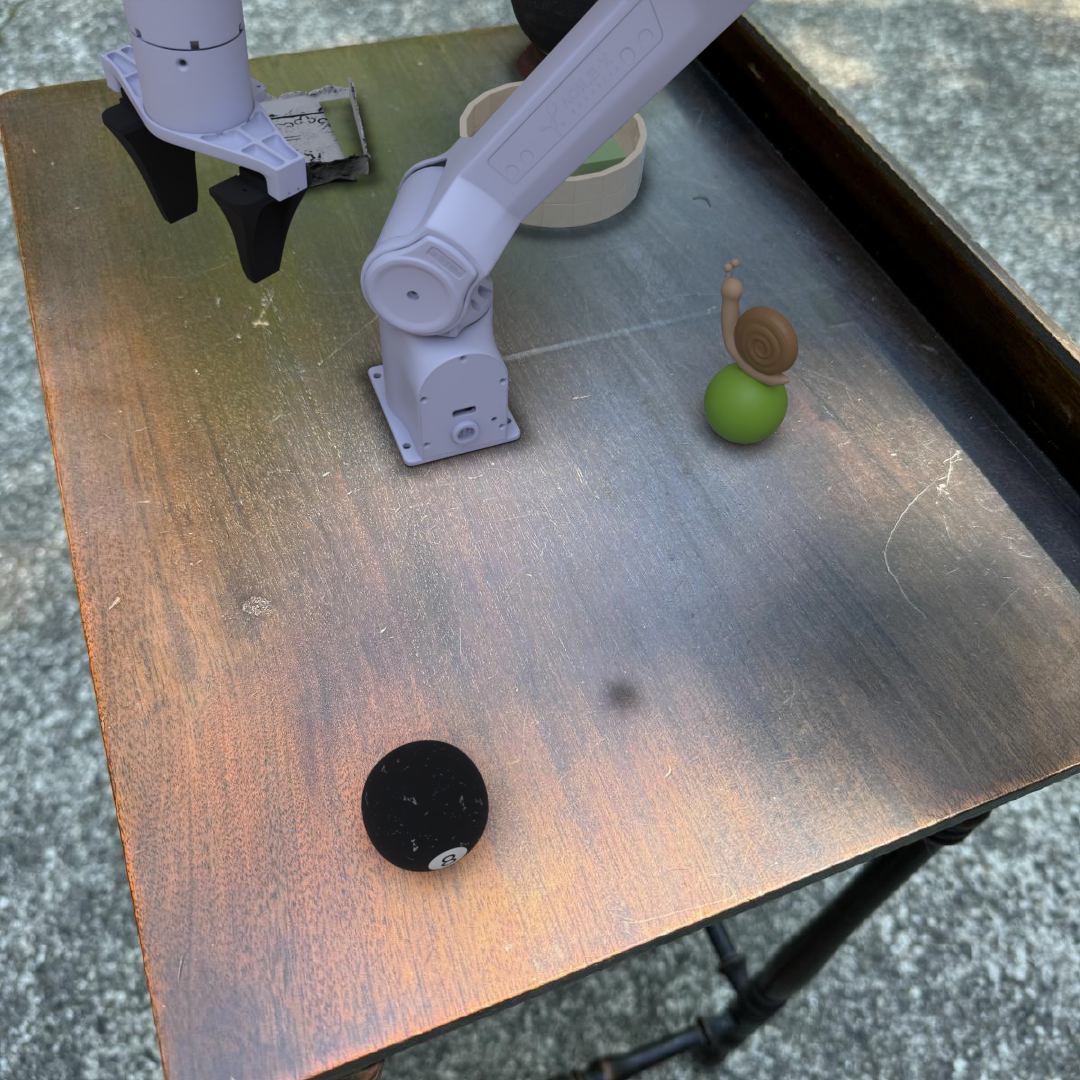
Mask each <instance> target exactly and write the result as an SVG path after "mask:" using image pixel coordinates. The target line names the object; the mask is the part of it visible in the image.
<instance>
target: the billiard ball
mask: <svg viewBox="0 0 1080 1080" xmlns="http://www.w3.org/2000/svg"><path fill="white" fill-rule="evenodd" d="M360 806H361V807H360V810H361V811H360V812H361V818H362V823H363V826H364V829H365V832H366V834H367V838H368V839H369V841H370V843H371V844H372V846H373V847H374V848H375V850H376V852H378V854H379V855H380V856H381V857H382V858H383V859H384V860H386V861H387V862H388V863H390V864H391V865H393V866H394V867H396V868H398V869H400V870H404V871H408V872H415V873H429V872H435V871H439V870H442V869H444V868H447V867H450V866H452V865H454V864H455V863H457V862H459V861H460V860H461V859H463V858H464V857H466V855H468V854H469V853H470V852H471V851H472V850H474V848H475V847H476V846H477V844H478V843H479V841H480V840H481V838H482V836H483V835H484V833H485V830H486V827H487V824H488V820H489V813H490V812H489V811H490V803H489V794H488V790H487V786H486V783H485V780H484V778H483V776H482V773H481V771H480V770H479V768H478V766H477V765H476V764H475V762H474V761H473V760H472V759H471V758H470V757H469V755H468V754H467V753H465V752H464V751H463V750H462V749H460V748H458V747H457V746H455V745H453V744H451V743H449V742H445V741H443V740H435V739H419V740H414V741H411V742H410V741H409V742H407V743H404V744H402V745H399V746H397V747H396V748H394V749H391V750H390V751H389V752H388V753H386V754H385V755H383V756H382V757H381V758H380V759H379V760H378V761H377V762H376V764H375V765H374V766H373V767H372V768H371V769H370V772H369V773H368V775H367V777H366V779H365V781H364V784H363V788H362V791H361V799H360Z"/></svg>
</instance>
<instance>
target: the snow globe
mask: <svg viewBox="0 0 1080 1080" xmlns="http://www.w3.org/2000/svg"><path fill="white" fill-rule="evenodd" d="M597 1H598V0H510V3H511V7H512V11H513V14H514V17H515V19H516V21H517V23H518V25H519V28H520V29H521V31H522V32H523V33H524V35H525V36H526V37H527V38H528V39H529V41H530V43H529V44H528V45H527V46H526V48H525V50H524V51H523V52H522V53H521V54H520V55H519V57H518V60H517V65H516V67H517V70H518V73H519V74H520V76H521V77H522V79H523V80H525V79H526V78H527V77H528V76H529V75H530V74H531V73H532V72H533V71H534V70H535V68H536V67H537V66H538V65H539V64H540V63H541V62H542V61H543V60H544V59H545V58H546V57H547V55H548V54H549V53H550V52H551V51H552V50H553V49H554V48H555V47H556V46H557V45H558V44H559V42H560V41H561V40H562V39H563V38H564V37H565V36H566V35H567V34H568V33H569V32H570V30H571V29H572V28H573V27H574V26H575V25H576V24H577V23H578V22H579V21H580V20H581V19H582V17H583V16H584V15H585V14H586V13H587V12H588V11H589V10H590V9H591V8H592V7H593V6H594V4H595V3H596V2H597Z"/></svg>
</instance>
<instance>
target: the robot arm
mask: <svg viewBox="0 0 1080 1080" xmlns="http://www.w3.org/2000/svg"><path fill="white" fill-rule="evenodd" d="M756 1H757V0H598V1H597V2H596V3H595V4H594V6H593V7H592V8H591V9H590V10H589V11H588V12H587V13H586V14H585V15H584V16H583V17H582V19H581V20H580V21H579V22H578V23H577V24H576V25H575V26H574V27H573V28H572V29H571V30H570V32H569V33H568V34H567V35H566V36H565V37H564V38H563V39H562V40H561V41H560V42H559V44H558V45H557V46H556V47H555V48H554V49H553V50H552V51H551V52H550V53H549V54H548V55H547V57H546V58H545V59H544V60H543V61H542V62H541V63H540V64H539V65H538V66H537V67H536V68H535V70H534V71H533V72H532V73H531V74H530V75H529V76H528V77H527V78H526V79H523V80H522V81H523V83H522V84H521V85H520V86H519V87H518V88H517V89H516V90H515V91H514V92H513V93H512V95H511V96H510V97H509V98H508V99H507V100H506V101H505V102H504V103H503V104H502V105H501V106H500V108H499V109H498V110H497V111H496V112H495V113H494V114H493V115H492V116H491V117H490V118H489V119H488V121H487V122H486V123H485V124H484V125H483V126H482V127H481V128H480V129H479V130H478V131H477V132H476V134H475V135H474V136H473V137H461V138H460V137H459V138H458V139H457V140H456V141H455V142H454V143H453V144H452V146H451V147H449V149H448V150H447V151H444V152H443V153H441V154H439V155H437V156H435V157H431V158H426V159H424V160H423V159H422V160H421V161H419V162H416V163H415V164H414V165H412V166H411V167H410V168H409V169H407V170H406V172H405V173H404V174H403V176H402V178H401V180H400V182H399V185H398V188H397V190H396V197H395V200H394V201H393V204H392V207H391V209H390V211H389V213H388V215H387V218H386V219H385V223H384V224H383V227H382V229H381V232H380V234H379V236H378V238H377V241H376V243H375V245H374V247H373V250H372V251H371V252H370V253H369V254H368V255H367V257H366V259H365V261H364V263H363V265H362V267H361V271H360V278H359V279H360V280H359V282H360V290H361V292H362V295H363V298H364V300H365V302H366V304H367V305H368V306H369V308H370V309H371V310H372V312H373V313H374V314H375V315H376V316H377V323H378V333H379V340H380V341H379V342H380V353H381V362H382V364H379V365H375V366H372V367H370V368H369V369H368V370H367V374H368V378H369V380H370V383H371V386H372V388H373V390H374V393H375V395H376V398H377V400H378V402H379V405H380V408H381V410H382V411H383V414H384V417H385V419H386V421H387V424H388V427H389V429H390V431H391V434H392V436H393V439H394V441H395V443H396V446H397V448H398V451H399V453H400V456H401V458H402V460H403V462H404V464H405V465H406V466H408V467H409V466H410V467H412V466H413V467H414V466H419V465H422V464H426V463H430V462H433V461H437V460H442V459H445V458H451V457H454V456H459V455H461V454H462V455H463V454H466V453H469V452H473V451H478V450H481V449H485V448H489V447H493V446H497V445H500V444H504V443H508V442H512V441H516V440H518V439H519V438H520V437H521V430H520V428H519V425H518V424H517V422H516V420H515V417H514V416H513V413H512V412H511V410H510V408H509V372H508V368H507V365H506V363H505V360H504V359H503V357H502V355H501V353H500V351H499V348H498V346H497V343H496V339H495V336H494V329H493V327H494V326H493V324H494V323H493V321H494V319H493V318H494V315H493V314H494V313H493V312H494V304H493V303H494V298H493V296H494V285H493V281H492V279H491V275H490V273H491V271H492V270H493V268H494V267H495V265H496V264H497V262H498V261H499V259H500V257H501V256H502V254H503V252H504V251H505V249H506V247H507V246H508V244H509V242H510V240H511V239H512V238H513V236H514V234H515V232H516V231H517V229H518V227H519V226H520V225H521V222H522V221H523V220H524V219H525V218H526V217H527V216H528V215H529V214H530V213H531V212H532V211H533V210H534V209H535V208H536V207H537V206H538V205H540V204H541V203H542V202H543V201H544V200H545V199H546V198H547V197H548V196H549V195H550V194H551V193H552V192H553V191H554V190H555V189H557V188H558V187H559V186H560V185H561V184H562V183H563V182H564V181H565V180H566V179H567V178H568V177H569V176H570V175H571V174H572V173H574V172H575V171H576V170H577V169H578V168H579V167H580V166H581V165H582V164H583V163H584V162H585V161H586V160H587V159H588V158H589V157H590V156H592V155H593V154H594V153H595V152H596V151H597V150H598V149H599V148H600V147H601V146H602V145H603V144H604V143H605V142H606V141H607V140H609V139H610V138H611V137H612V136H613V135H614V134H615V133H616V132H617V131H618V130H619V129H620V128H621V127H622V126H623V125H624V124H625V123H627V122H628V121H629V120H630V119H631V118H632V117H633V116H634V115H635V114H636V113H637V112H638V113H639V111H641V109H643V108H644V107H645V106H646V105H647V104H648V103H649V102H650V101H652V99H654V97H655V96H656V95H658V94H659V93H660V92H661V91H662V90H663V89H664V88H665V87H666V86H667V85H668V84H669V83H670V82H672V81H673V79H674V78H676V77H677V76H678V75H679V74H680V73H681V72H682V71H684V70H685V68H687V66H688V65H689V64H690V63H692V62H693V61H694V59H696V58H697V57H698V56H699V55H700V54H701V53H702V52H703V51H704V50H705V49H706V48H707V47H709V46H710V44H712V42H714V41H715V40H716V39H717V38H718V37H719V36H720V35H721V34H722V33H723V32H724V31H725V30H726V29H727V28H728V27H729V26H731V25H732V24H733V23H734V22H735V21H736V20H737V19H738V18H739V17H740V16H741V15H743V14H744V12H745V11H747V10H748V9H749V8H750V7H751V6H752V5H754V3H755V2H756ZM122 5H123V8H124V9H123V10H124V15H125V19H126V24H127V28H128V33H129V38H130V43H131V44H130V43H129V44H126V45H123V46H121V47H118V48H115V49H113V50H110V51H107V52H105V53H102V54H100V59H101V64H102V69H103V72H104V77H105V82H106V85H107V87H108V88H109V89H110V90H112V91H113V92H115V93H116V94H120V95H121V97H119V99H118V100H119V102H118V103H117V104H114V105H111V106H109V107H108V108H106V109H105V110H103V111H102V113H101V120H102V124H103V125H104V127H106V128H107V129H108V130H109V131H110V133H111V134H112V135H113V136H114V137H115V138H116V140H117V141H118V142H119V143H120V145H121V146H122V148H123V149H124V150H125V151H126V153H127V154H128V155H129V157H130V158H131V160H132V162H133V163H134V165H135V167H136V168H137V170H138V171H139V173H140V176H141V178H142V179H143V181H144V183H145V185H146V187H147V189H148V191H149V193H150V195H151V197H152V199H153V202H154V203H155V205H156V207H157V209H158V211H159V212H160V215H161V216H162V218H163V219H164V220H165V221H166V222H167V223H169V224H170V225H173V224H175V223H176V222H179V221H181V220H182V219H185V218H187V217H189V216H192V215H193V214H195V213H197V212H198V207H199V187H198V176H197V165H196V164H197V163H196V153H199V154H202V155H205V156H208V157H212V158H214V159H217V160H220V161H224V162H227V163H230V164H233V165H236V166H238V172H239V174H235V175H233V176H230V177H229V178H226V179H224V180H222V181H220V182H217V183H216V184H214V185H212V186H209V187H208V193H209V196H210V197H211V198H212V199H213V200H214V202H215V203H216V205H217V206H218V207H219V208H220V211H221V212H222V214H223V216H224V217H225V219H226V222H227V223H228V225H229V227H230V231H231V233H232V236H233V239H234V241H235V246H236V250H237V254H238V258H239V262H240V266H241V269H242V272H243V274H244V275H245V277H246V279H247V280H248V281H250V282H251V283H253V284H258V283H260V282H262V281H264V280H265V279H267V278H269V277H271V276H272V275H274V274H276V273H278V272H279V271H280V269H281V264H282V260H283V254H284V250H285V244H286V241H287V236H288V233H289V230H290V227H291V224H292V221H293V218H294V216H295V214H296V212H297V209H298V207H299V206H300V204H301V202H302V200H303V198H304V197H305V195H306V193H307V192H308V190H309V189H310V188H311V187H310V186H311V184H312V173H311V170H310V168H309V167H308V166H306V164H305V156H303V155H302V154H301V153H299V152H298V151H296V150H295V149H294V148H293V147H292V146H291V145H290V144H289V143H288V142H287V141H286V139H285V138H284V137H283V135H282V134H281V132H280V131H279V130H278V128H277V127H276V125H275V124H274V123H273V121H272V120H271V118H270V117H269V116H268V114H267V113H266V111H265V110H264V109H263V107H262V106H261V104H260V103H259V102H262V101H264V100H265V99H266V93H267V87H266V85H265V84H264V83H262V82H260V81H258V80H257V79H256V78H255V77H252V76H251V69H250V62H249V61H250V59H249V52H248V43H247V42H248V41H247V33H246V25H245V17H244V8H243V0H122Z"/></svg>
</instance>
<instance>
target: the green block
mask: <svg viewBox="0 0 1080 1080" xmlns="http://www.w3.org/2000/svg"><path fill="white" fill-rule="evenodd" d="M626 158H627V156H626V154H625V153H624V152H623V150H622V149H621V147H620V146H619V145H618V143H617V142H616V140H615V139H614V138H613V136H612V137H611V138H610V139H609V140H607V141H606V142H605V143H604V144H603V145H602V146H601V147H600V148H599V149H598V150H597V151H596V152H595V153H594V154H593V155H592V156H590V157H589V158H588V159H587V160H586V161H585V162H584V163H583V164H582V165H581V166H580V167H579V168H578V169H577V170H576V171H575V172H574V173H572V174H571V175H570V176H569V177H574V176H580V175H585V174H590V173H596V172H601V171H603V170H605V169H607V168H610V167H612V166H614V165H617V164H619V163H621V162H622V161H623V160H624V159H626Z"/></svg>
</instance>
